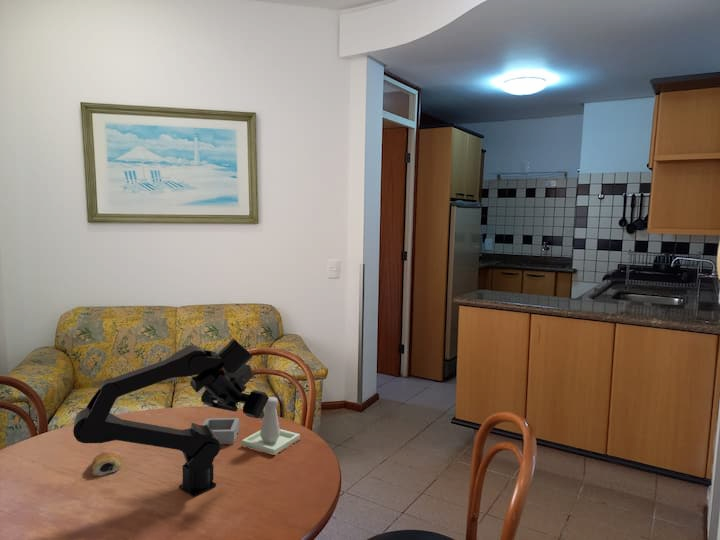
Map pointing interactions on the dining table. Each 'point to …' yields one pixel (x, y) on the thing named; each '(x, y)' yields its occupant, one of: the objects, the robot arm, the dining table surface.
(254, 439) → the tray
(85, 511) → the dining table surface
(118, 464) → the pastry
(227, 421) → the holder
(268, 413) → the salt shaker
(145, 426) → the robot arm
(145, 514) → the dining table surface
